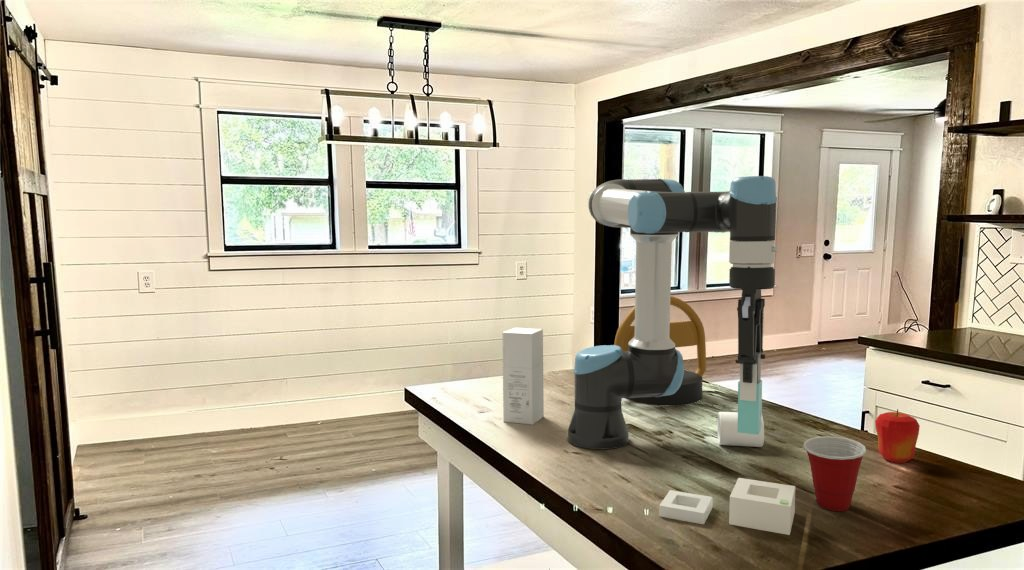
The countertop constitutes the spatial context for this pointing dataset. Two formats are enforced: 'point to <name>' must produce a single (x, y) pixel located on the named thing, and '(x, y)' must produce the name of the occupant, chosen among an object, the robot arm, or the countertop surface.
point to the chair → (682, 337)
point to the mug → (736, 432)
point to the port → (762, 505)
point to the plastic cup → (834, 470)
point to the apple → (897, 436)
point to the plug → (751, 407)
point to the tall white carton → (523, 375)
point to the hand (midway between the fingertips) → (750, 397)
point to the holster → (686, 507)
